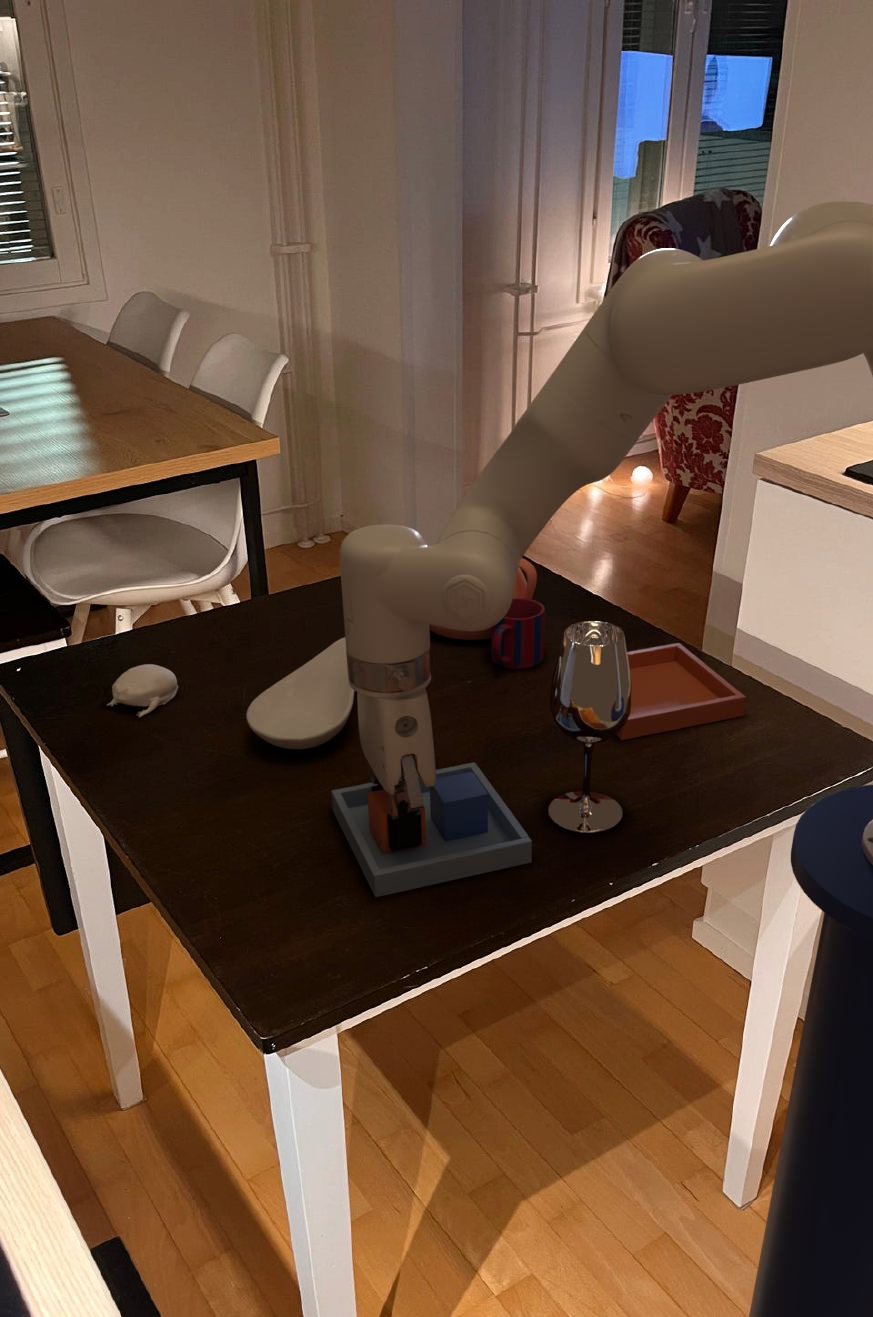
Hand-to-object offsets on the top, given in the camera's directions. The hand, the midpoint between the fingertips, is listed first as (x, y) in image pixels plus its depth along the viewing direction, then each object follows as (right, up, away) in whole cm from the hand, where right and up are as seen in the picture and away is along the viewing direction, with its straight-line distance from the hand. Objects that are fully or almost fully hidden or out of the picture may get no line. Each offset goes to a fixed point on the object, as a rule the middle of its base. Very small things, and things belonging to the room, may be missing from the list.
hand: (397, 830), depth 116 cm
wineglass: (+19, +1, +4) cm, 19 cm away
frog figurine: (-32, +14, +28) cm, 45 cm away
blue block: (+6, 0, +2) cm, 6 cm away
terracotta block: (0, -1, 0) cm, 1 cm away
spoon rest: (-9, +12, +24) cm, 28 cm away
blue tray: (+3, -1, +2) cm, 3 cm away
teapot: (+8, +26, +45) cm, 53 cm away
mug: (+13, +20, +34) cm, 42 cm away
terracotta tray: (+29, +15, +25) cm, 41 cm away
